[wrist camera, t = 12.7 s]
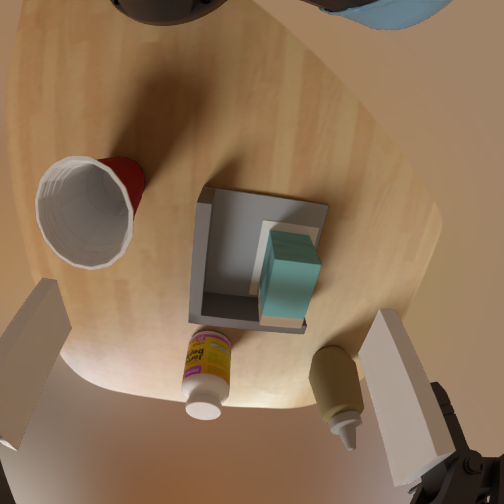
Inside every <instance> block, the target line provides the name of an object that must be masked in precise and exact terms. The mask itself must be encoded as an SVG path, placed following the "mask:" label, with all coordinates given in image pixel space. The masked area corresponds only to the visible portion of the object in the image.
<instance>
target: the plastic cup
mask: <svg viewBox="0 0 504 504" xmlns="http://www.w3.org/2000/svg"><path fill="white" fill-rule="evenodd" d="M144 185H145V177H144V174H143V171H142V169H141V167H140V166H139V165H138V164H137V163H136V162H135V161H133V160H131V159H129V158H125V157H115V158H104V159H98V160H96V159H94V158H92V157H84V156H68V157H66V158H64V159H62V160H60V161H58V162H56V163H53V164H52V165H51V167H50V168H49V169H48V170H47V172H46V173H45V174H44V175H43V177H42V178H41V180H40V183H39V187H38V190H37V194H36V198H35V204H36V218H37V222H38V225H39V227H40V230H41V232H42V235H43V237H44V240H45V241H46V242H47V243H48V245H49V246H50V247H51V248H52V250H53V251H54V252H55V253H56V255H57V256H59V257H60V258H62V259H63V260H65V261H66V262H68V263H69V264H71V265H73V266H74V267H79V268H84V269H89V270H95V269H99V268H104V267H108V266H110V265H112V264H113V263H114V262H115V261H116V260H118V259H119V258H120V257H121V256H122V255H124V253H125V251H126V248H127V246H128V244H129V242H130V239H131V237H132V235H133V221H134V216H135V213H136V211H137V208H138V206H139V203H140V200H141V198H142V193H143V191H144Z"/></svg>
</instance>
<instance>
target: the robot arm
mask: <svg viewBox="0 0 504 504" xmlns="http://www.w3.org/2000/svg"><path fill="white" fill-rule="evenodd" d="M110 1H111V2H112V4H113V5H114V6H115V7H116V8H117V9H118V10H119V11H120V12H122V13H123V14H125V15H126V16H128V17H130V18H132V19H134V20H136V21H138V22H141V23H144V24H148V25H156V26H170V25H178V24H183V23H187V22H190V21H193V20H196V19H198V18H201V17H203V16H205V15H207V14H209V13H210V12H212V11H214V10H215V9H217V8H218V7H219V6H221V5H222V4H223V3H224V2H225V1H226V0H110ZM301 1H304V2H307V3H309V4H312V5H315V6H317V7H319V9H320V10H321V11H323V12H325V13H328V14H330V15H337V16H343V17H346V18H348V19H350V20H353V21H355V22H358V23H360V24H362V25H365V26H367V27H369V28H372V29H377V30H400V29H404V28H407V27H411V26H413V25H416V24H418V23H420V22H423V21H424V20H426V19H428V18H430V17H431V16H433V15H434V14H436V13H437V12H439V11H440V10H441V9H443V8H444V7H445V6H447V5H448V4H449V3H450V2H451V1H452V0H301ZM71 329H72V327H71V324H70V321H69V318H68V315H67V312H66V309H65V306H64V303H63V300H62V296H61V293H60V290H59V286H58V283H57V280H54V279H47V278H42V279H41V281H40V282H39V283H38V284H37V286H36V287H35V288H34V290H33V291H32V293H31V294H30V295H29V297H28V298H27V299H26V301H25V302H24V304H23V305H22V306H21V308H20V309H19V311H18V312H17V314H16V315H15V317H14V318H13V320H12V321H11V323H10V324H9V325H8V327H7V329H6V330H5V332H4V333H3V335H2V336H1V338H0V442H1V443H2V444H3V445H6V446H8V447H10V448H12V449H14V450H16V451H18V449H19V447H20V444H21V441H22V438H23V435H24V433H25V430H26V428H27V425H28V422H29V420H30V417H31V414H32V412H33V410H34V407H35V405H36V402H37V400H38V398H39V396H40V393H41V391H42V389H43V387H44V384H45V382H46V380H47V378H48V375H49V373H50V371H51V369H52V367H53V365H54V363H55V361H56V359H57V356H58V354H59V352H60V350H61V348H62V346H63V344H64V342H65V340H66V339H67V337H68V335H69V333H70V331H71ZM358 355H359V358H360V362H361V365H362V368H363V371H364V375H365V378H366V381H367V385H368V388H369V391H370V395H371V398H372V402H373V405H374V408H375V412H376V416H377V419H378V423H379V427H380V431H381V434H382V438H383V442H384V445H385V450H386V453H387V458H388V462H389V466H390V470H391V474H392V479H393V483H394V487H396V486H400V485H403V484H408V483H411V482H413V481H415V480H416V479H418V478H419V477H421V479H422V482H421V483H419V484H418V485H416V486H415V487H413V488H411V489H410V491H409V492H408V493H409V494H411V493H412V492H414V491H416V492H415V494H414V495H413V498H412V500H411V502H410V504H504V454H503V455H501V456H500V457H482V456H481V454H480V453H478V452H477V451H474V450H470V449H469V447H468V445H467V443H466V440H465V437H464V434H463V432H462V429H461V427H460V424H459V422H458V419H457V417H456V414H454V409H453V407H452V405H450V404H451V403H450V400H449V398H448V395H447V393H446V391H445V390H444V389H443V388H442V386H440V384H439V383H438V382H433V383H429V380H428V378H427V376H426V373H425V371H424V369H423V366H422V364H421V362H420V360H419V358H418V355H417V354H416V351H415V349H414V347H413V345H412V343H411V341H410V338H409V336H408V334H407V332H406V330H405V328H404V326H403V324H402V322H401V320H400V318H399V316H398V314H397V312H396V310H395V309H379V311H378V313H377V315H376V317H375V319H374V322H373V324H372V326H371V328H370V330H369V332H368V334H367V336H366V338H365V340H364V343H363V345H362V347H361V349H360V351H359V353H358ZM488 496H490V500H489V502H487V497H488ZM0 504H16V503H15V500H14V498H13V495H12V493H11V490H10V487H9V485H8V482H7V479H6V476H5V473H4V470H3V467H2V464H1V461H0Z"/></svg>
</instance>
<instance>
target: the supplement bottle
mask: <svg viewBox="0 0 504 504" xmlns="http://www.w3.org/2000/svg"><path fill="white" fill-rule="evenodd" d="M230 361H231V344H230V342H229V340H228V339H227V338H226V337H225V336H224V335H222V334H220V333H218V332H214V331H202V332H199V333H196V334H195V335H194V336H193V337H192V338H191V339H190V342H189V346H188V351H187V357H186V363H185V369H184V375H183V381H182V392H183V395H184V396H185V397H186V398H187V399H188V400H187V401H186V412H187V413H188V414H189V415H190V416H192V417H194V418H197V419H201V420H212V419H215V418H217V417H219V416H220V414H221V407H222V405H221V403H223V402H224V401H225V400H226V399H227V398H228V396H229V389H230Z"/></svg>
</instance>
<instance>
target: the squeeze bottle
mask: <svg viewBox="0 0 504 504" xmlns="http://www.w3.org/2000/svg"><path fill="white" fill-rule="evenodd" d="M309 381H310V384H311V387H312V390H313V393H314V396H315V399H316V402H317V405H318V408H319V411H320V414H321V417H322V420H323V421H324V422H326V423H329V425H330V430H331V432H332V433H333V434H335V435H340V436H341V438H342V440H343V442H344V444H345V446H346V448H347V450H349V451H350V450H354V449H355V448H356V430H357V429H358V428H359V427H360V426H361V425H362V421H361V417H360V414H361V413H362V411H363V409H364V404H363V399H362V394H361V388H360V383H359V377H358V372H357V367H356V363H355V362H354V361H353V359H352V358H351V357H350V356H349V355H348V354H347V353H346V352H345V351H344V350H343V349H342V348H340V347H336V346H331V347H326V348H323V349H321V350H319V351H318V352H316V354H315V355H314V356H313V359H312V363H311V368H310V373H309Z"/></svg>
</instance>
